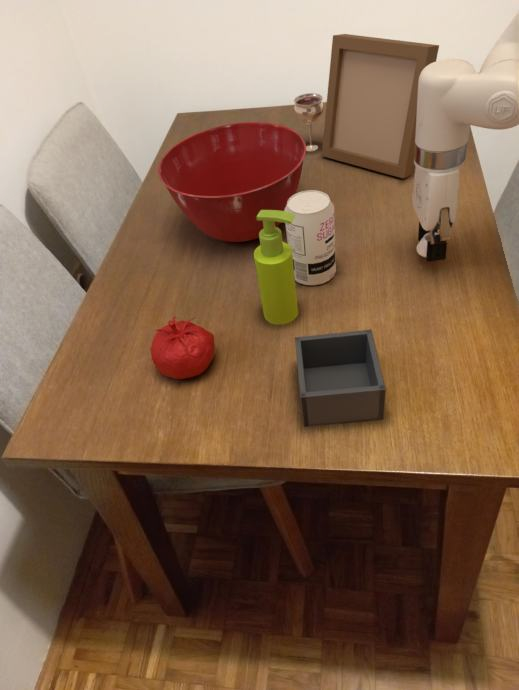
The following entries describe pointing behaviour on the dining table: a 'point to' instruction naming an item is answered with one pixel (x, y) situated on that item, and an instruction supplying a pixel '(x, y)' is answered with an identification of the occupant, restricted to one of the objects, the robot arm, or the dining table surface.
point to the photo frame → (374, 102)
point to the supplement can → (312, 237)
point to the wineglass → (309, 112)
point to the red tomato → (182, 349)
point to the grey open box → (340, 378)
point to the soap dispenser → (275, 269)
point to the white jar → (423, 245)
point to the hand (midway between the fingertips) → (431, 249)
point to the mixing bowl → (234, 176)
